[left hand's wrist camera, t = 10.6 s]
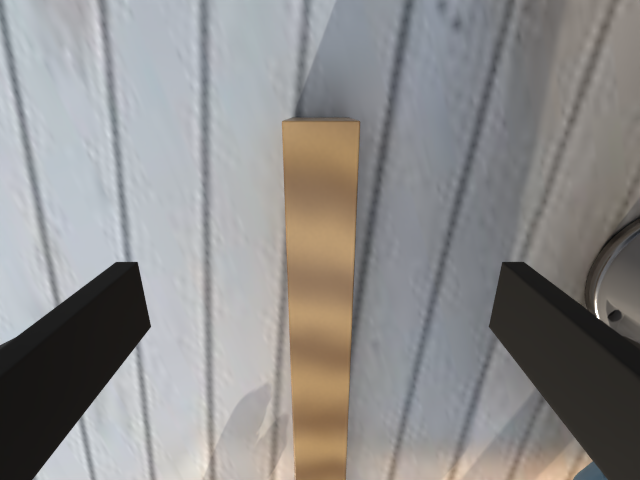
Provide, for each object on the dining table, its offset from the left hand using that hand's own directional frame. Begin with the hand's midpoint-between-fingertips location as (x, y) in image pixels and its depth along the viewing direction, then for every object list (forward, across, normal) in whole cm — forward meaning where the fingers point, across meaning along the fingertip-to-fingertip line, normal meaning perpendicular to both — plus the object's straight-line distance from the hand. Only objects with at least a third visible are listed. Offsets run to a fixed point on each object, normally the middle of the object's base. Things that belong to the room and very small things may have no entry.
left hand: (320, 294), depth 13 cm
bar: (+20, 0, -33) cm, 39 cm away
